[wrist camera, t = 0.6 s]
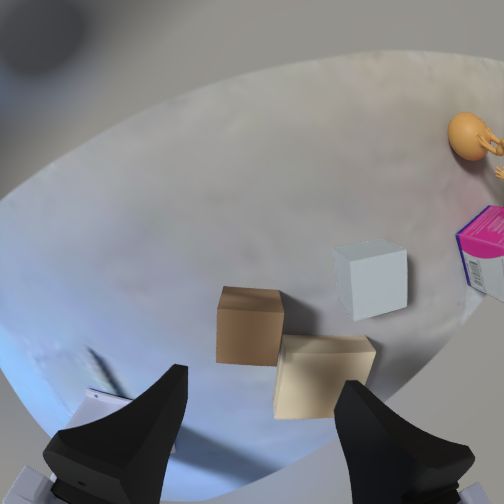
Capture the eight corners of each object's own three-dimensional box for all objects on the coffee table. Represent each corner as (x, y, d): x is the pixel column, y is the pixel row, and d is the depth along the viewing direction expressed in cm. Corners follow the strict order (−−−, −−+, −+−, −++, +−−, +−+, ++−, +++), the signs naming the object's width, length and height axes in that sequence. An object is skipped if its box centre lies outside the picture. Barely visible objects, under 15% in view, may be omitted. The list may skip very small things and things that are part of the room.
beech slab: (272, 396, 23) (274, 419, 20) (282, 332, 21) (286, 353, 19) (344, 394, 23) (353, 415, 20) (363, 333, 22) (376, 351, 19)
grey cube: (337, 298, 21) (353, 321, 17) (331, 247, 20) (349, 261, 16) (383, 287, 20) (407, 306, 16) (380, 237, 19) (406, 249, 16)
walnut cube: (221, 333, 21) (216, 362, 17) (223, 285, 20) (217, 308, 16) (273, 336, 21) (276, 366, 17) (278, 289, 20) (284, 313, 16)
